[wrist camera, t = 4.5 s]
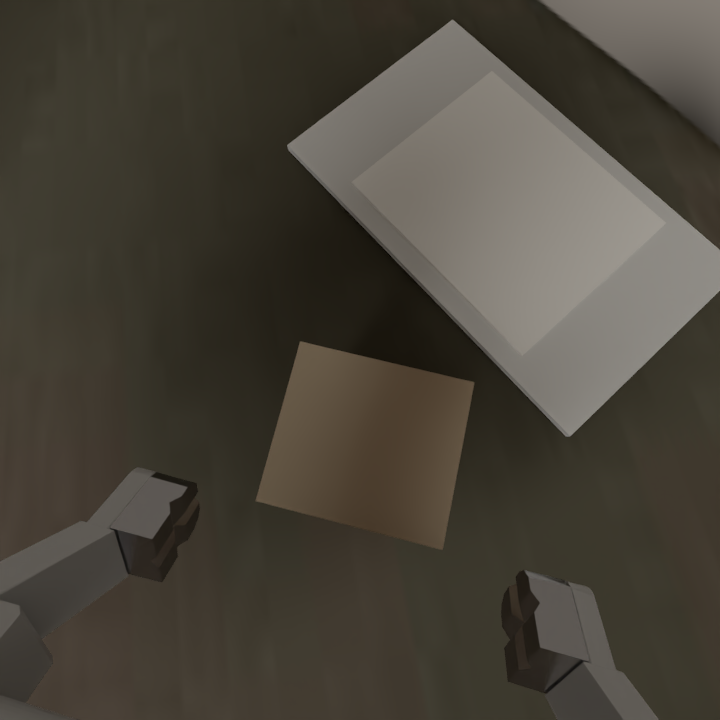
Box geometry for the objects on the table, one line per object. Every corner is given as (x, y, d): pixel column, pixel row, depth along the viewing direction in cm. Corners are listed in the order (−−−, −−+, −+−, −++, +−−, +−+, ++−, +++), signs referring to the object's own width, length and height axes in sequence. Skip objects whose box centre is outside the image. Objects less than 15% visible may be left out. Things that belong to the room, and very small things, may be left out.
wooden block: (308, 472, 18) (255, 501, 10) (330, 387, 19) (300, 341, 10) (405, 497, 18) (442, 550, 9) (424, 410, 19) (474, 382, 10)
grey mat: (734, 272, 20) (745, 267, 19) (565, 436, 19) (572, 436, 18) (451, 26, 23) (453, 15, 23) (288, 150, 22) (286, 142, 21)
